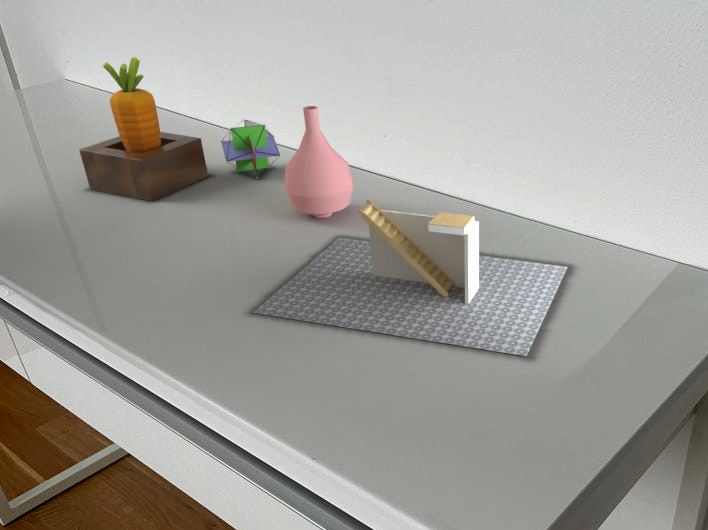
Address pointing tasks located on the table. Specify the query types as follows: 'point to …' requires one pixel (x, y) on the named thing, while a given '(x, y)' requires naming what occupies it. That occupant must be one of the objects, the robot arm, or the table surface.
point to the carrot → (134, 110)
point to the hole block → (144, 167)
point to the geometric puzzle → (250, 147)
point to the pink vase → (317, 173)
